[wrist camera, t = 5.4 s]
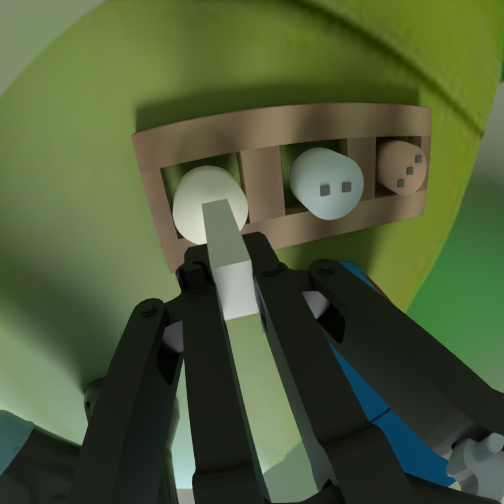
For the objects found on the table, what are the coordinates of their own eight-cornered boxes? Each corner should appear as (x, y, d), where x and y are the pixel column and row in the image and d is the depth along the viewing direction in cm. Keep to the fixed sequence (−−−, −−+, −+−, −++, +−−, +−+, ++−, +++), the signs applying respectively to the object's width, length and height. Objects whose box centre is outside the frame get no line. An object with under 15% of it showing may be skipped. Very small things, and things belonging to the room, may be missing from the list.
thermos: (274, 281, 29) (388, 522, 8) (363, 245, 29) (517, 426, 9) (293, 341, 35) (371, 517, 14) (365, 310, 35) (465, 460, 14)
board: (171, 261, 25) (170, 273, 24) (136, 132, 19) (131, 135, 17) (412, 208, 28) (423, 215, 27) (417, 105, 22) (431, 108, 20)
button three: (369, 188, 25) (389, 199, 23) (370, 138, 23) (391, 145, 20) (405, 182, 26) (425, 193, 23) (408, 137, 23) (429, 144, 21)
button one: (182, 233, 22) (182, 254, 19) (167, 174, 19) (164, 186, 16) (244, 220, 22) (253, 238, 20) (234, 159, 20) (243, 169, 17)
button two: (291, 210, 23) (306, 226, 20) (286, 151, 20) (302, 159, 18) (344, 200, 23) (363, 214, 21) (343, 144, 21) (365, 153, 18)
